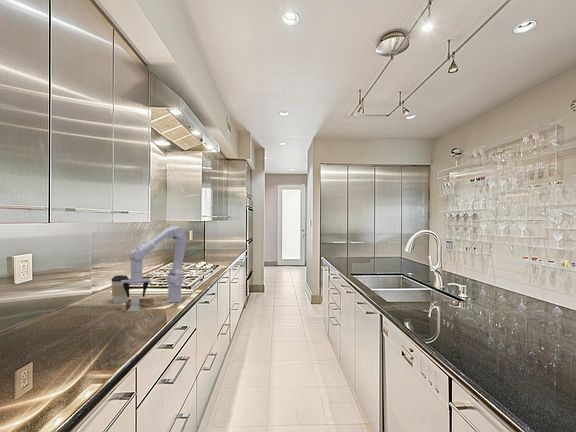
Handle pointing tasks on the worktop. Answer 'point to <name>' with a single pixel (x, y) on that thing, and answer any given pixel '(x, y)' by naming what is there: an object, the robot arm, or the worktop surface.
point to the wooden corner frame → (142, 302)
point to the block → (135, 303)
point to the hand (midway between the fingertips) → (135, 296)
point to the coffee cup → (118, 289)
